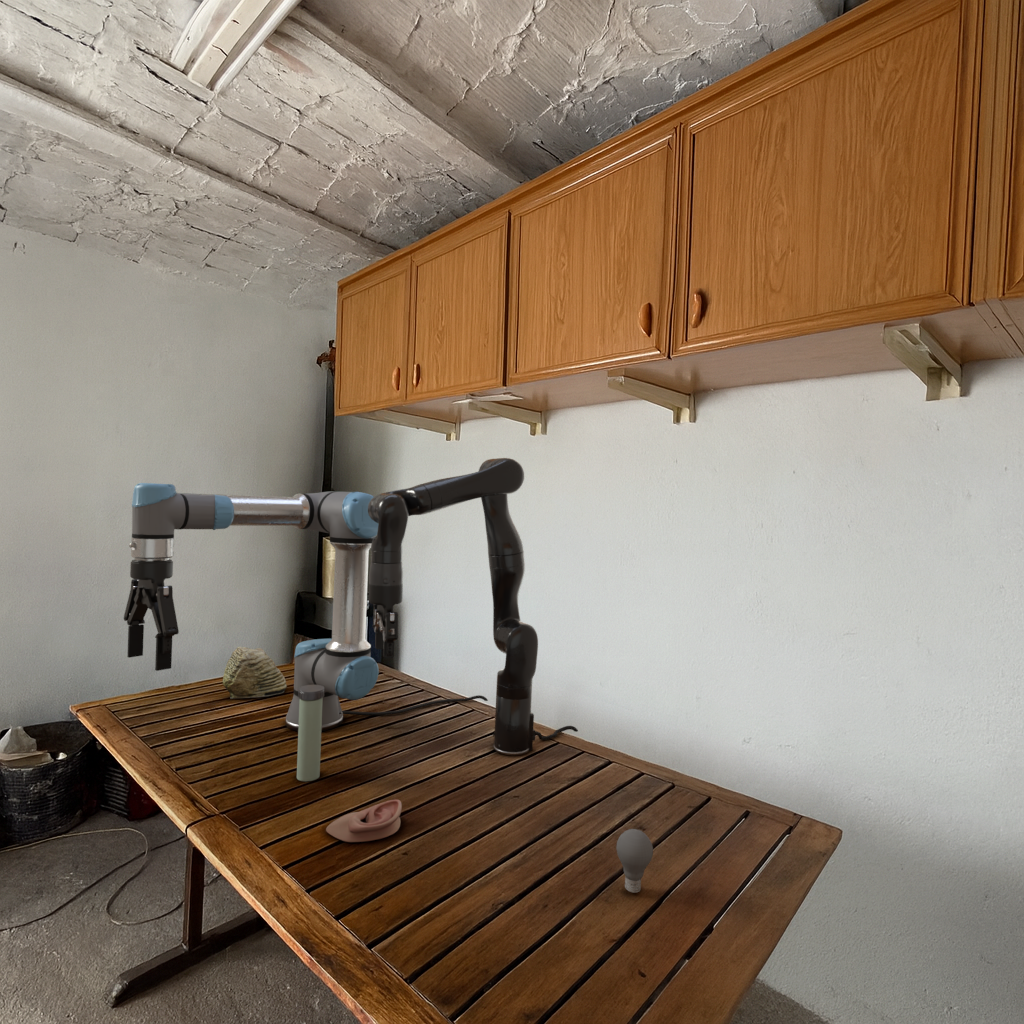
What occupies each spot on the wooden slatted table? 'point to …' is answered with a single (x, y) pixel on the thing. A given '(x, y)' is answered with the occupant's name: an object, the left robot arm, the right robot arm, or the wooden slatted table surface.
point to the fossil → (252, 674)
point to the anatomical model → (368, 823)
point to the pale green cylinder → (309, 739)
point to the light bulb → (634, 857)
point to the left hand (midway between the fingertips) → (148, 662)
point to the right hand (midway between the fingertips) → (384, 653)
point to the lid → (311, 692)
